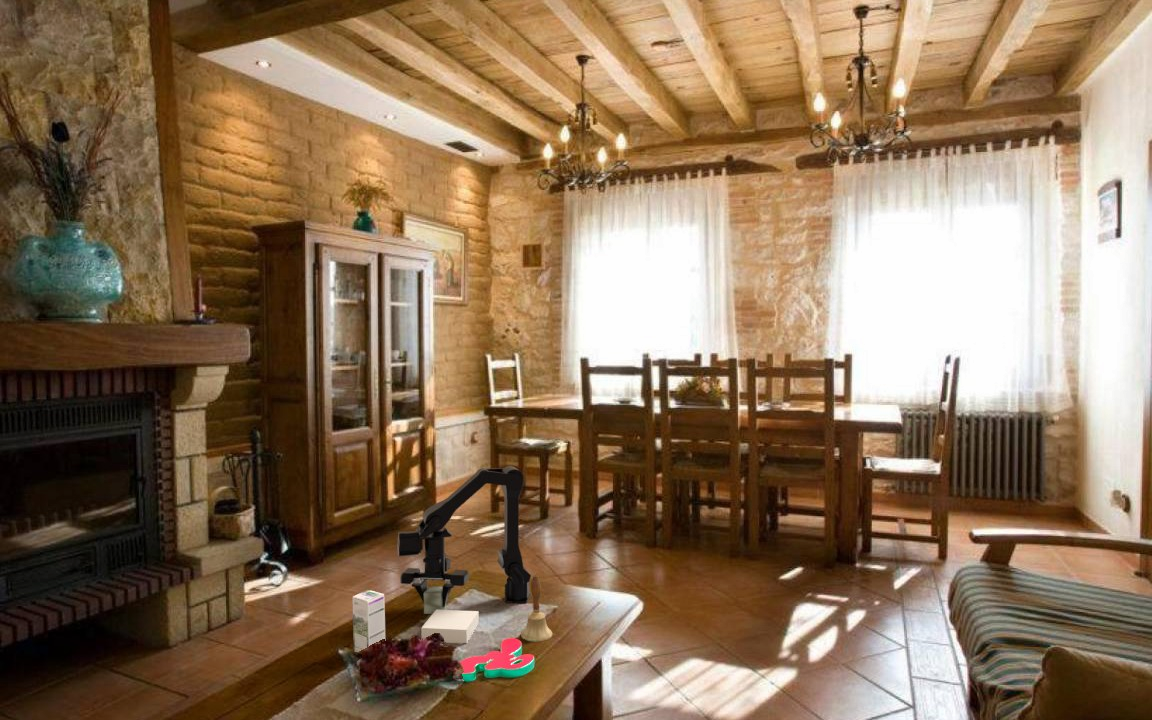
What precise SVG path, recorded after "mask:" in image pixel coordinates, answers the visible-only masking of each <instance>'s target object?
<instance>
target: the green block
mask: <svg viewBox="0 0 1152 720" xmlns="http://www.w3.org/2000/svg"><path fill="white" fill-rule="evenodd" d="M442 601H443V586H428V587H427V590H426V591H425V592H424V603H423V614H427V615H432V614H433V613H434V612H435V611H436V610H447V609H446V608H447V605H446V606H445V607H443V602H442Z"/></svg>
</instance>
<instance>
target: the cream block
mask: <svg viewBox="0 0 1152 720" xmlns="http://www.w3.org/2000/svg"><path fill="white" fill-rule="evenodd" d="M479 616H480V612H479V611H478V610H477V611H476V610H457V609H456V610H453V609H445V610H436V611H435V612H434V613H433V614H430V617H428V619H427V620H426V622H425V623H424V624H423V625H422V626H421V630H420V631H421V639H422V638H426V637H428V636H430V635H432V634H434V633H440V634H441V635H442V636H443V637H444V640H445V642H446V643H448V644H463V643H467V644H468V643H469V641H470V639H471V638H472V636H473V635H472V634H474V633H475V631H476V630H477V628H478V627H477V625H478V624H479V625H480V622H479V621H480V617H479ZM479 625H478V626H479ZM476 627H477V628H476ZM475 629H476V630H475ZM474 630H475V631H474ZM473 632H474V633H473ZM471 635H472V636H471ZM470 637H471V638H470ZM468 640H469V641H468ZM446 643H445V644H446Z"/></svg>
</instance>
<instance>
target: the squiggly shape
mask: <svg viewBox="0 0 1152 720" xmlns="http://www.w3.org/2000/svg"><path fill="white" fill-rule="evenodd" d="M499 648H500V651H498V650H493V651H489V652H488V653H486V654H485V655H476V656H470V657H466V658H464V659H463V660H460V661H459V662H460V663H461V665H462V667H463V670H464V672H463V673H462V676H463V680H464V681H466V683H467V682H472V681H475V680H476V679H477V674H478V673H479V672H483V675H484V677H485V678H489V679H494V678H499V677H502V678H519V677H522V676H525V675H526V674H527V675H528V673H530V672H531V671H533V669H534V668H535V655H533V654H530V653H527V654H522V653H523V643H522V641H521V640H519V639H517V638H515V637H514V638H513V637H510V638H509V637H508V638H505V639H503V640H502V641H501V642H500V646H499ZM478 671H479V672H478Z"/></svg>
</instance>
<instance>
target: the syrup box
mask: <svg viewBox="0 0 1152 720" xmlns="http://www.w3.org/2000/svg"><path fill="white" fill-rule="evenodd" d="M385 603H386V601H385V593H381V592H377V591H374V590H371V589H368V590H364V591H362V592H360V593H358V594H356V595H353V596H352V621H353V624H352V625H353V626H352V628H353V629H352V631H353V632H352V633H353V653H354V652H359V651H361V650H363V649H365V648H367V647H369V646H370V645H372V644H374V643H376V642H379V641H380V640H382V639H385V640H386V615H385V613H386V610H385V609H386V608H385V605H386V604H385Z"/></svg>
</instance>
